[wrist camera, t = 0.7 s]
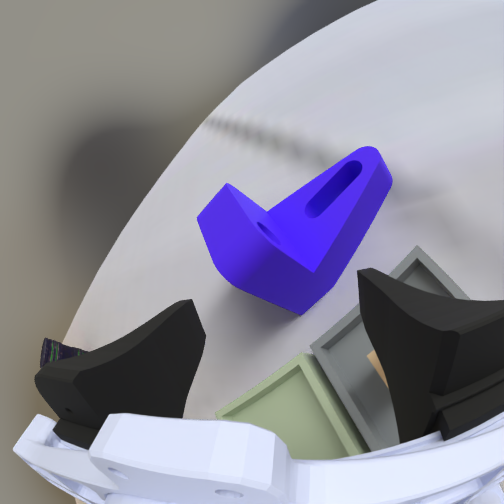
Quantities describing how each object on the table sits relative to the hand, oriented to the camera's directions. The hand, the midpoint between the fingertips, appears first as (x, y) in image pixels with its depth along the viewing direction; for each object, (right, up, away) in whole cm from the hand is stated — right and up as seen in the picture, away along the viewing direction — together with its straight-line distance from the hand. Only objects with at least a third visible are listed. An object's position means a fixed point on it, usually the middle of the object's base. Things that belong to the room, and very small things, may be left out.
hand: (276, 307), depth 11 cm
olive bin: (+3, -17, +11) cm, 20 cm away
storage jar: (-51, -33, +56) cm, 83 cm away
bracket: (+9, +5, +19) cm, 21 cm away
